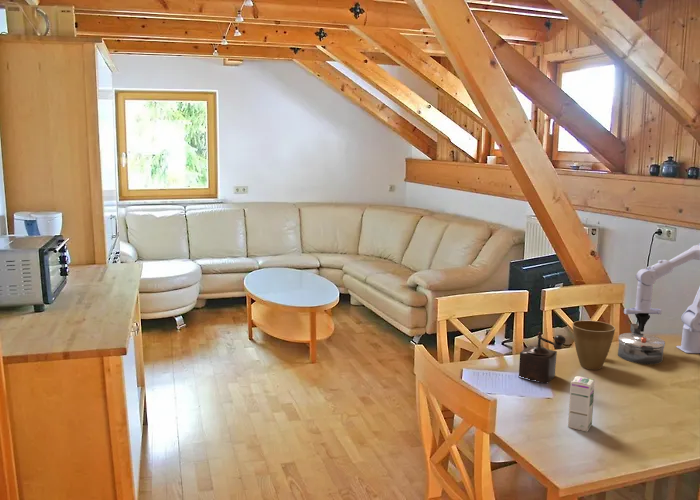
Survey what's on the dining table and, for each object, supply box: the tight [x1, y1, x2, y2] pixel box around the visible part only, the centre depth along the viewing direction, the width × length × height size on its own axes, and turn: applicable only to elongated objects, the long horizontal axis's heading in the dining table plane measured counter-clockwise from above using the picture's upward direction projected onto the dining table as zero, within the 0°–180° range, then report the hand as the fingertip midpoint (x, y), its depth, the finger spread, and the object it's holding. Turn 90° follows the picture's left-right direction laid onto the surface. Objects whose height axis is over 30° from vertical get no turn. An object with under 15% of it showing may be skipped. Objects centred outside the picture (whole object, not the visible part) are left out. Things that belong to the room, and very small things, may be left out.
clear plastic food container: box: [617, 340, 665, 365], centre depth 252 cm, size 23×16×6 cm
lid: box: [618, 323, 666, 351], centre depth 252 cm, size 25×17×3 cm, turn 167°
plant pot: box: [572, 319, 616, 371], centre depth 239 cm, size 15×15×16 cm
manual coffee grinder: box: [518, 331, 566, 384], centre depth 226 cm, size 16×11×18 cm
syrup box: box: [567, 375, 596, 433], centre depth 189 cm, size 6×6×14 cm
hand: (640, 331), depth 261 cm, fingers closed
